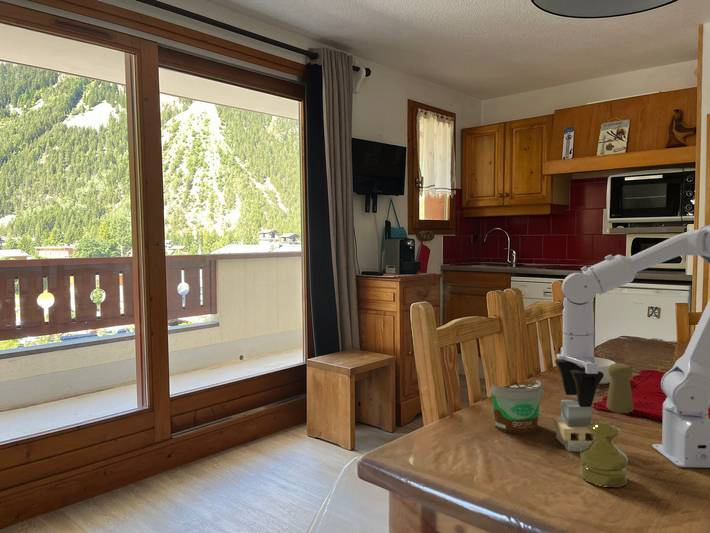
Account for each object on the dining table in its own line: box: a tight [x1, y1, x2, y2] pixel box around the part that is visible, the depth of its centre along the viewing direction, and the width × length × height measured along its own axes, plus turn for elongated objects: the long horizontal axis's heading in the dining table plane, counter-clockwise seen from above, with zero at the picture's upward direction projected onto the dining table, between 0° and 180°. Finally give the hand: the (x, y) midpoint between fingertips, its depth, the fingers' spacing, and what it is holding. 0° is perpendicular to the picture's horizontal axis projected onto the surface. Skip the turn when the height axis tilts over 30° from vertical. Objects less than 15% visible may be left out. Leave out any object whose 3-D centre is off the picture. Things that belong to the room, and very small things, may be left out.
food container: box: [489, 379, 545, 435], centre depth 111 cm, size 12×6×10 cm, turn 105°
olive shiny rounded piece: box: [579, 420, 629, 488], centre depth 88 cm, size 7×7×10 cm
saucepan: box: [595, 357, 617, 385], centre depth 147 cm, size 12×20×6 cm, turn 142°
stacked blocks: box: [551, 399, 595, 441], centre depth 103 cm, size 7×7×6 cm
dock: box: [555, 431, 593, 452], centre depth 104 cm, size 7×6×2 cm
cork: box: [605, 362, 635, 414], centre depth 124 cm, size 6×6×11 cm
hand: (577, 400), depth 103 cm, fingers open, 7 cm apart
